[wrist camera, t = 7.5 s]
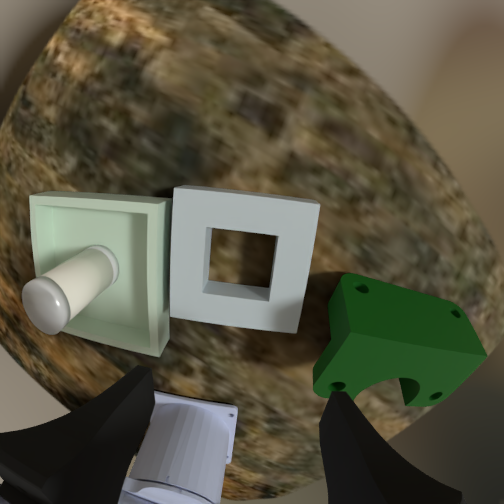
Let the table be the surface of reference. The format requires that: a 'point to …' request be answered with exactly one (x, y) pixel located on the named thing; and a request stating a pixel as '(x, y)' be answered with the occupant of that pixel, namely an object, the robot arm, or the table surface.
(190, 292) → the grey square frame
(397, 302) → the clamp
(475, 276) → the table surface
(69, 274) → the cylinder
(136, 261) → the parts tray
